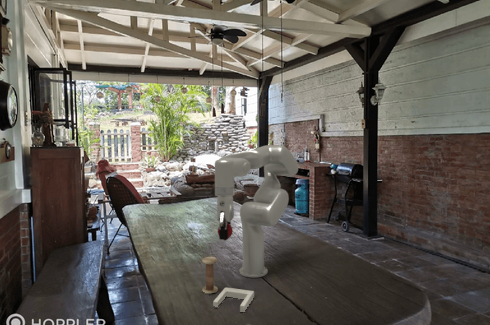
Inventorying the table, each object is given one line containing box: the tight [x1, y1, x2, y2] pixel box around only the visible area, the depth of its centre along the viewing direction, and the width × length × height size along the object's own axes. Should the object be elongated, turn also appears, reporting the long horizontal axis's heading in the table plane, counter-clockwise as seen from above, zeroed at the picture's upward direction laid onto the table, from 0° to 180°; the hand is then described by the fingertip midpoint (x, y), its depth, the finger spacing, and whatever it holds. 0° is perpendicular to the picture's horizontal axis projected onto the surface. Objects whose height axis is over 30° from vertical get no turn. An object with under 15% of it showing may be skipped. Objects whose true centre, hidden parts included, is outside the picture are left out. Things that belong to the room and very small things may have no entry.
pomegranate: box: [217, 220, 233, 239], centre depth 135 cm, size 6×6×8 cm
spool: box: [201, 256, 219, 293], centre depth 135 cm, size 6×6×13 cm
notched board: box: [212, 287, 255, 313], centre depth 126 cm, size 12×12×2 cm
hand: (225, 236), depth 136 cm, fingers closed on pomegranate, 5 cm apart
